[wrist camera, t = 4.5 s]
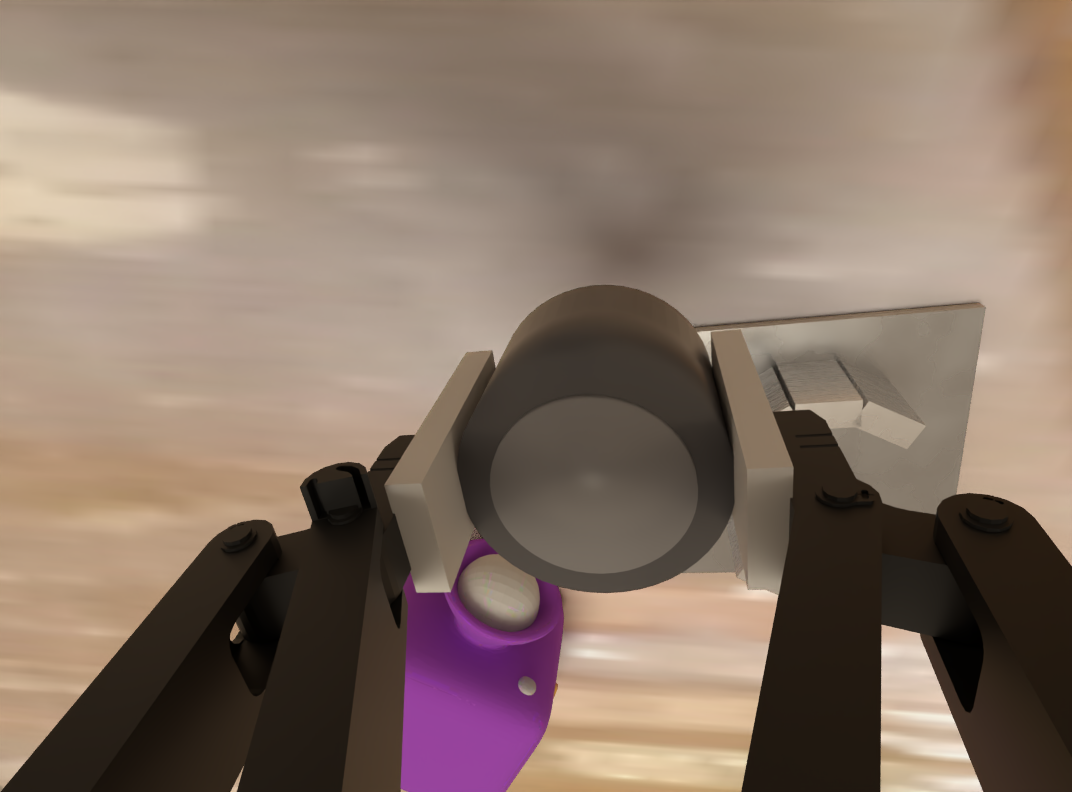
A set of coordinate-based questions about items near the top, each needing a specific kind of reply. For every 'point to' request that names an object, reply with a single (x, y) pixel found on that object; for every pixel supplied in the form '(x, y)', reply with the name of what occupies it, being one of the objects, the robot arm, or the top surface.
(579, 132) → the top surface
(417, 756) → the toy camera
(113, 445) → the top surface
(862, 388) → the grey square plate
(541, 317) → the dark grey cylinder
